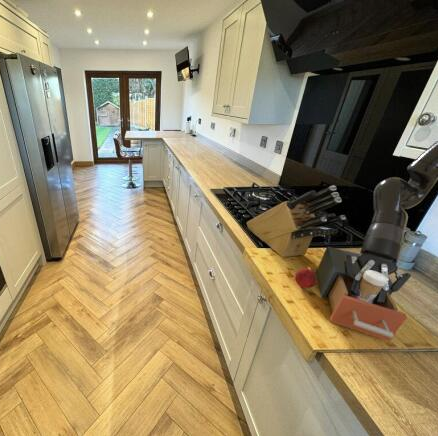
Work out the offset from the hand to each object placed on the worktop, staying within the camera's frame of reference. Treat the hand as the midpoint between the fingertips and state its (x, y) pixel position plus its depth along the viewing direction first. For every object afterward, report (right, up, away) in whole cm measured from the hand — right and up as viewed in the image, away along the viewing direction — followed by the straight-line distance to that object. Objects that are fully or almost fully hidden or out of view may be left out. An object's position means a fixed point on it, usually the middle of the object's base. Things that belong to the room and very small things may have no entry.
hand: (365, 298), depth 63 cm
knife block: (-1, +9, +39) cm, 40 cm away
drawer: (0, -7, +4) cm, 8 cm away
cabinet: (+7, -3, +15) cm, 17 cm away
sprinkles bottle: (+1, -5, +4) cm, 7 cm away
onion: (-7, -2, +16) cm, 17 cm away
